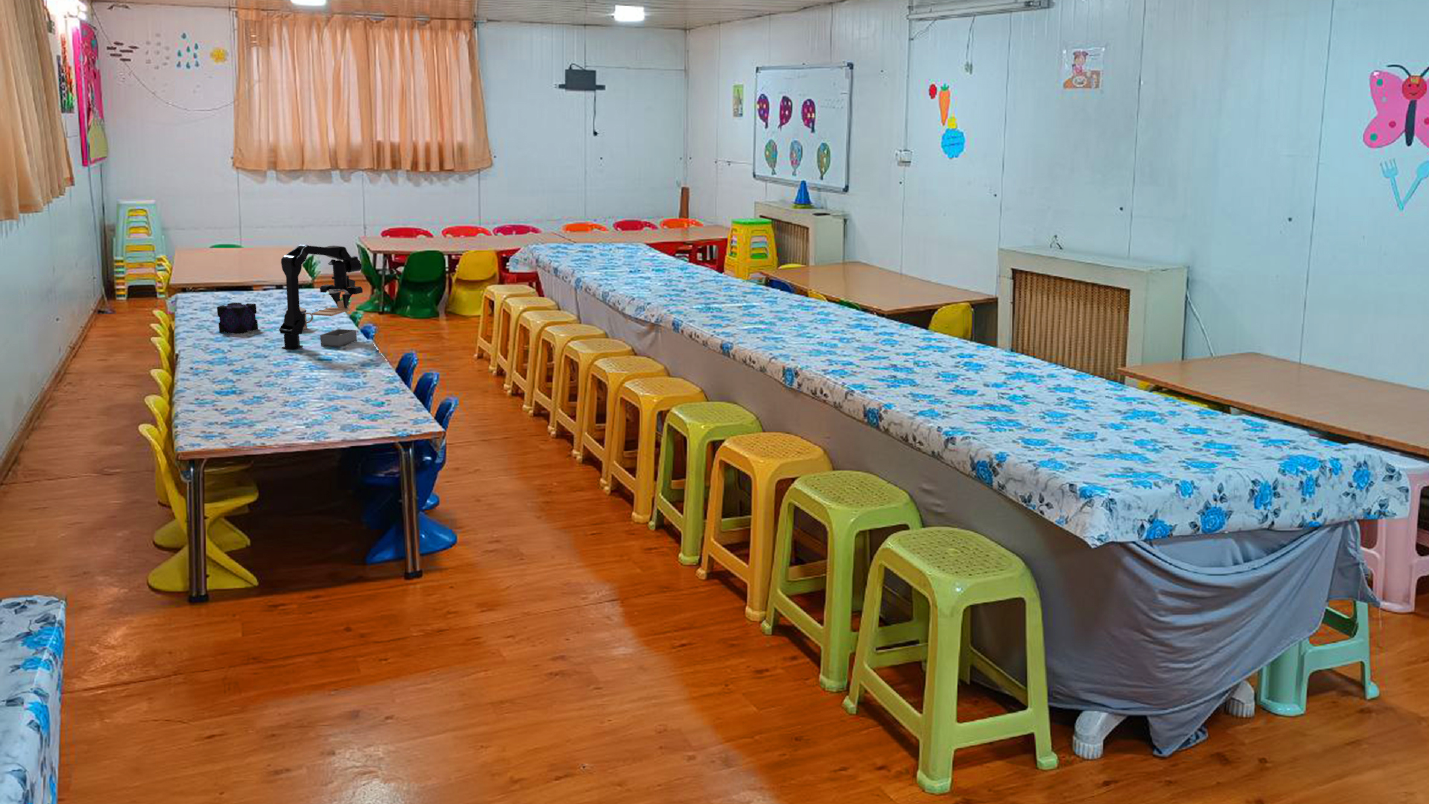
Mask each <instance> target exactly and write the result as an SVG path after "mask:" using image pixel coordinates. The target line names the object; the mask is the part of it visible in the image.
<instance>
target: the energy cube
mask: <svg viewBox="0 0 1429 804" xmlns="http://www.w3.org/2000/svg"><path fill="white" fill-rule="evenodd" d="M216 313H217V317H219V322H218V323H217V324H218V331H219V333H222V332H227V333H226V334H228V332H229V333H233V334H237V335H238V334H239V335H242V334H247V333H248V332H249V331H256V330H259V325H258V319H257V318H256V317H257V316H256V314H257V313H258V311H257V304H256V303H248V302H247V303H245V304H243V303H242V302H230V303H227V305H219V306H216ZM246 332H247V333H246Z"/></svg>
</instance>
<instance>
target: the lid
mask: <svg viewBox="0 0 1429 804" xmlns="http://www.w3.org/2000/svg"><path fill="white" fill-rule="evenodd" d="M337 303H338V306H337V307H332V306H331V307H326V308H323V309H318V310H317V311H314V312H312V313H311V314H312V315H313V316H323V317H333V316H336V315H339V314H342V313H347V312H349V311H351V308H348V306H349V305H348V306H347V308H345V307H344V303H343V299H342V300H341V299H340V301H338V302H337Z"/></svg>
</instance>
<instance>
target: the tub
mask: <svg viewBox="0 0 1429 804" xmlns="http://www.w3.org/2000/svg"><path fill="white" fill-rule="evenodd" d="M319 338H320V339H319V340H320V347H328V348H341V347H344V346H348V345H350V344H353V343H355V342H354V341H356V342H357V341H358V338H357V329H343V328H337V329H335V330H331V331H329V332H324V333H322V334H320V335H319ZM347 344H348V345H347Z"/></svg>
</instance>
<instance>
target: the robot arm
mask: <svg viewBox="0 0 1429 804" xmlns="http://www.w3.org/2000/svg"><path fill="white" fill-rule="evenodd" d="M308 255H317V256H326V257H327V258H332V259H331V260H330V261H328V263H327V264H328V265H329V266H332V273H333V274H332V276H331V279H332V280H333V284H324V285H321V286H320V287H319V292H320V293H323V294H324V293H327V294H328V296H330V298H331V299H332V300H333V301H334V303H335V305H336V306H337V307H338V303H337V302H338V301H341V297H342V301H343V303H344V307H345V308H347V306H349V302H350V299H351V297H352V296H353V295H359V294H363V287H362V286H359V285H358V286H356V280H354V279H352V278H351V279H350V276H349V275H348V274H349V273H354V272H359V271H362V266H363V265H362V262H361V260H360V259H359V256H356V255H354V256H351V254H350V253H349V252H348V250H347V247H346V246H341V245H328V246H317V245H308V244H298V245H297V246H296V247H295V248H294V249H292V250H290V251H288V253H286V254H285V255H283V256H282V258H281V260H280V264H281V270H282V272H283V274H284V276H285V281H286V282H285V283H286V285H285V286H286V303H287V304H286V306H287V309H286V310H287V312H286V311H285V313H284V317H283V323H282V324H281V325H280V327H279V329H278V330H279V333H280V334H283V341H284V343H283V344H284V345H283V346H282V347H281V349H286V350H296V349H300V348H302V347H304V345H303V344H301V341H300V335H302V334H303V332H304V330H303V327H304V325H305V323H306V321H305V313H301V311H300V307H301V306H300V289H299V287H300V286H299V284H300V283H299V276H300V273H302V267H303V266H302V265H303V264H304V263H305V262H306V260H307V258H308ZM343 292H344V293H343ZM291 329H292V330H291Z"/></svg>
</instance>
